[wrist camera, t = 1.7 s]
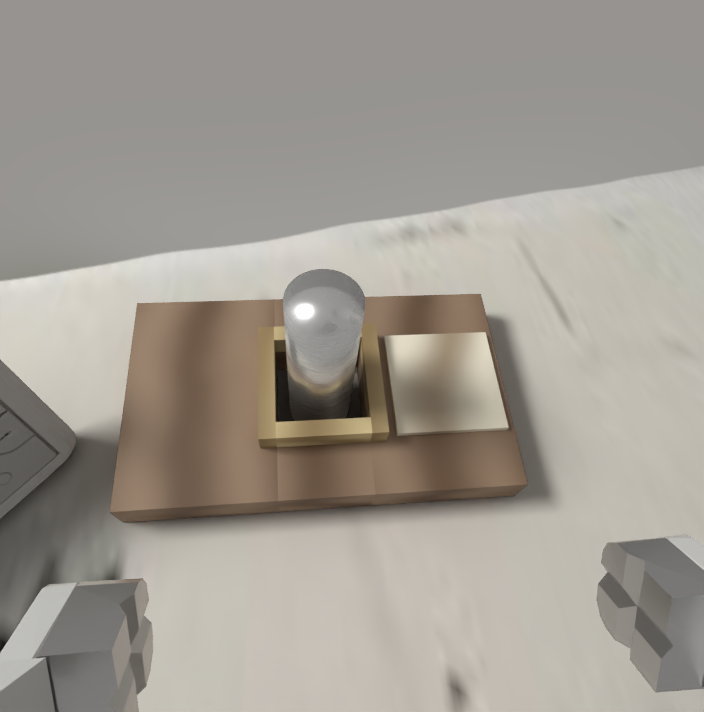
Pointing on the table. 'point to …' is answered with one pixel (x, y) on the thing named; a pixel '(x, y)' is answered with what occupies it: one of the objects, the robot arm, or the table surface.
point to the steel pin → (322, 342)
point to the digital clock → (27, 440)
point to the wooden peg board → (312, 437)
